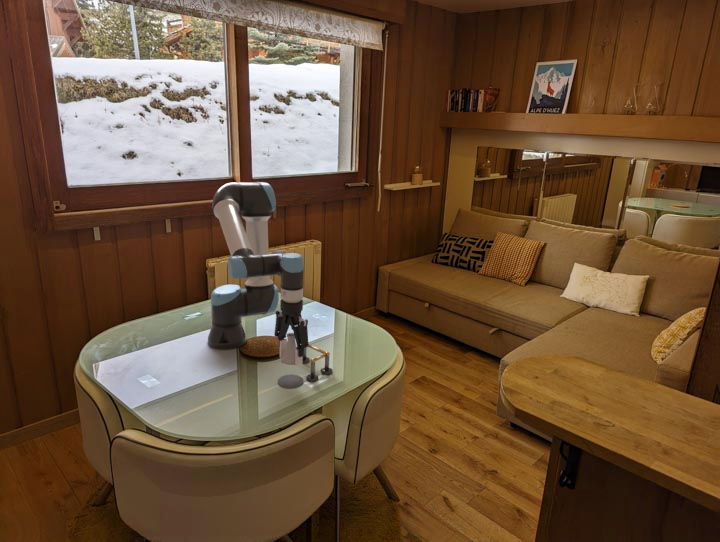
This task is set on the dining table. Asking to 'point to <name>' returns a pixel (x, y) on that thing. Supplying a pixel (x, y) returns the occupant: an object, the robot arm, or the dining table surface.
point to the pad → (290, 381)
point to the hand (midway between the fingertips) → (290, 360)
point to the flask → (289, 350)
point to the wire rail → (312, 376)
